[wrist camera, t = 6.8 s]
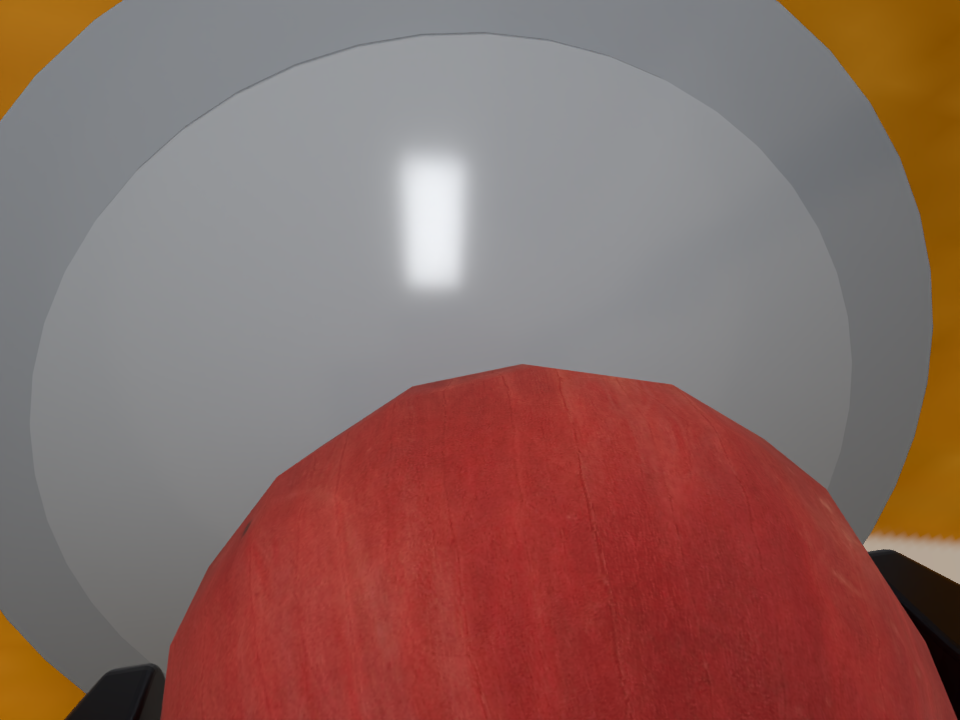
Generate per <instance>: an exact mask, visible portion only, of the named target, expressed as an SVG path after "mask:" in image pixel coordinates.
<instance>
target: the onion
mask: <svg viewBox="0 0 960 720" xmlns="http://www.w3.org/2000/svg"><path fill="white" fill-rule="evenodd" d="M160 720H957V717H956V715H955V712H954V710H953V707H952V705H951V702H950V700H949V698H948V695H947V693H946V690H945V688H944V685H943V683H942V681H941V678H940V676H939V673H938V671H937V668H936V666H935V664H934V661H933V659H932V656H931V654H930V651H929V649H928V646H927V644H926V642H925V640H924V639H923V637H922V636H921V634H920V633H919V631H918V630H917V628H916V627H915V625H914V623H913V622H912V620H911V619H910V617H909V616H908V614H907V613H906V611H905V610H904V608H903V606H902V605H901V603H900V602H899V600H898V599H897V597H896V596H895V594H894V593H893V591H892V590H891V588H890V586H889V585H888V583H887V582H886V580H885V579H884V577H883V576H882V574H881V573H880V571H879V569H878V568H877V566H876V565H875V563H874V562H873V560H872V559H871V557H870V556H869V554H868V553H867V551H866V549H865V548H864V546H863V545H862V543H861V542H860V540H859V539H858V537H857V536H856V534H855V532H854V531H853V529H852V528H851V526H850V525H849V523H848V522H847V520H846V519H845V517H844V515H843V514H842V512H841V511H840V509H839V508H838V506H837V505H836V503H835V502H834V500H833V499H832V497H831V495H830V494H829V492H828V491H827V489H826V488H825V487H823V486H822V485H821V484H820V483H818V482H817V481H816V480H815V479H813V478H812V477H811V476H810V475H808V474H807V473H806V472H805V471H803V470H802V469H801V468H800V467H798V466H797V465H796V464H795V463H793V462H792V461H791V460H790V459H788V458H787V457H786V456H785V455H783V454H782V453H781V452H780V451H778V450H777V449H776V448H775V447H774V446H772V445H771V444H770V443H769V442H767V441H766V440H765V439H763V438H762V437H760V436H758V435H757V434H755V433H753V432H751V431H750V430H748V429H746V428H745V427H743V426H741V425H740V424H738V423H736V422H735V421H733V420H731V419H730V418H728V417H726V416H725V415H723V414H721V413H719V412H718V411H716V410H714V409H713V408H711V407H709V406H708V405H706V404H704V403H703V402H701V401H699V400H698V399H696V398H694V397H693V396H691V395H689V394H688V393H686V392H684V391H682V390H681V389H679V388H677V387H676V386H674V385H672V384H665V383H658V382H651V381H643V380H636V379H629V378H621V377H614V376H607V375H600V374H592V373H585V372H578V371H571V370H563V369H556V368H549V367H541V366H534V365H527V364H519V365H515V366H510V367H505V368H500V369H495V370H490V371H485V372H480V373H475V374H470V375H466V376H461V377H456V378H451V379H446V380H441V381H436V382H431V383H426V384H421V385H417V386H412V387H411V388H409V389H407V390H406V391H404V392H403V393H401V394H400V395H398V396H397V397H395V398H394V399H392V400H391V401H389V402H388V403H386V404H385V405H383V406H382V407H380V408H379V409H377V410H376V411H374V412H372V413H371V414H369V415H368V416H366V417H365V418H363V419H362V420H360V421H359V422H357V423H356V424H354V425H353V426H351V427H350V428H348V429H347V430H345V431H344V432H342V433H340V434H339V435H337V436H336V437H334V438H333V439H331V440H330V441H328V442H327V443H325V444H324V445H322V446H321V447H319V448H318V449H316V450H315V451H314V452H312V453H311V454H309V455H308V456H306V457H305V458H303V459H302V460H301V461H299V462H298V463H296V464H295V465H293V466H292V467H290V468H289V469H288V470H286V471H285V472H283V473H282V474H280V475H279V476H277V477H276V479H275V480H274V481H273V483H272V484H271V485H270V487H269V488H268V489H267V491H266V492H265V493H264V495H263V496H262V497H261V499H260V500H259V501H258V503H257V504H256V505H255V506H254V508H253V509H252V510H251V512H250V513H249V514H248V516H247V517H246V518H245V520H244V521H243V522H242V524H241V525H240V526H239V528H238V529H237V530H236V532H235V533H234V534H233V536H232V537H231V538H230V539H229V541H228V542H227V543H226V545H225V546H224V547H223V549H222V550H221V551H220V553H219V554H218V555H217V557H216V558H215V559H214V561H213V562H212V563H211V565H210V566H209V567H208V569H207V571H206V573H205V575H204V577H203V579H202V581H201V583H200V585H199V587H198V589H197V592H196V594H195V596H194V598H193V600H192V602H191V604H190V606H189V608H188V610H187V612H186V614H185V616H184V618H183V620H182V622H181V624H180V626H179V628H178V630H177V632H176V634H175V636H174V638H173V641H172V643H171V645H170V648H169V656H168V664H167V671H166V679H165V687H164V694H163V702H162V710H161V717H160Z"/></svg>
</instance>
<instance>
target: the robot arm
mask: <svg viewBox="0 0 960 720" xmlns="http://www.w3.org/2000/svg"><path fill="white" fill-rule="evenodd" d="M867 553H868V554H869V556H870V557H871V559H872V560H873V562H874V563H875V565H876V566H877V568H878V569H879V571H880V573H881V574H882V576H883V577H884V579H885V580H886V582H887V583H888V585H889V586H890V588H891V590H892V591H893V593H894V594H895V596H896V597H897V599H898V600H899V602H900V603H901V605H902V606H903V608H904V610H905V611H906V613H907V614H908V616H909V617H910V619H911V620H912V622H913V623H914V625H915V627H916V628H917V630H918V631H919V633H920V634H921V636H922V637H923V639H924V640H925V642H926V644H927V646H928V649H929V651H930V654H931V656H932V659H933V661H934V664H935V666H936V668H937V671H938V673H939V676H940V678H941V681H942V683H943V685H944V688H945V690H946V693H947V695H948V698H949V700H950V702H951V705H952V707H953V710H954V712H955V715H956V717H957V720H960V584H958V583H956V582H954V581H952V580H950V579H948V578H946V577H944V576H942V575H941V574H939V573H937V572H935V571H933V570H931V569H929V568H927V567H925V566H923V565H921V564H920V563H917V562H916V561H914V560H912V559H910V558H908V557H906V556H904V555H902V554H900V553H898V552H896V551H893V550H884V549H883V550H877V551H870V552H867ZM164 687H165V676H164V674H163V672H162V670H161V669H160V667H159V666H158V665H156V664H153V663H147V664H140V665H134V666H127V667H121V668H115V669H112V670H110V671H108V672H107V673H105V674H104V675H103V676H102V677H101V678H100V679H99V680H98V681H97V682H96V684H95V685H94V686H93V687H92V688H91V689H90V691H89V692H88V693H87V694H86V695H85V696H84V697H83V699H82V700H81V701H80V702H79V703H78V704H77V706H76V707H75V708H74V709H73V710H72V711H71V712H70V714H69V715H68V716H67V717H66V718H65V719H64V720H160V717H161V710H162V702H163V694H164Z"/></svg>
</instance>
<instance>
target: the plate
mask: <svg viewBox="0 0 960 720" xmlns="http://www.w3.org/2000/svg"><path fill="white" fill-rule="evenodd" d="M932 332H933V320H932V293H931V271H930V266H929V260H928V255H927V250H926V244H925V239H924V234H923V228H922V223H921V218H920V214H919V211H918V208H917V205H916V202H915V199H914V197H913V194H912V191H911V188H910V185H909V182H908V179H907V177H906V174H905V171H904V168H903V165H902V162H901V160H900V157H899V155H898V153H897V152H896V150H895V148H894V146H893V144H892V142H891V141H890V139H889V137H888V135H887V133H886V131H885V129H884V128H883V126H882V124H881V122H880V120H879V118H878V116H877V115H876V113H875V111H874V109H873V107H872V105H871V104H870V102H869V101H868V99H867V98H866V97H865V95H864V94H863V93H862V92H861V90H860V89H859V88H858V86H857V85H856V84H855V82H854V81H853V80H852V79H851V77H850V76H849V75H848V73H847V72H846V71H845V69H844V68H843V67H842V66H841V64H840V63H839V62H838V60H837V59H836V58H835V56H834V55H833V54H832V52H831V51H830V50H829V49H828V48H827V47H826V46H825V45H824V44H823V43H821V42H820V41H819V40H818V39H817V38H816V37H815V36H814V35H813V34H812V33H811V32H810V31H809V30H808V29H807V28H806V27H805V26H803V25H802V24H801V23H800V22H799V21H798V20H797V19H796V18H795V17H794V16H793V15H792V14H791V13H790V12H789V11H788V10H787V9H785V8H784V7H783V6H782V5H781V4H780V3H779V2H777V1H776V0H123V1H122V2H120V3H119V4H117V5H116V6H114V7H113V8H111V9H110V10H108V11H107V12H106V13H104V14H103V15H101V16H100V17H98V18H97V19H95V20H94V21H93V22H92V23H91V24H90V25H89V26H88V27H87V28H86V29H84V30H83V31H82V32H81V33H80V34H79V35H78V36H77V37H76V38H75V39H74V40H73V41H72V42H71V43H70V44H69V45H68V46H66V47H65V48H64V49H63V50H62V51H61V52H60V53H59V54H58V55H57V56H56V57H55V58H54V59H53V60H52V61H51V62H49V63H48V64H47V65H46V66H45V67H44V68H43V69H42V70H41V71H40V72H39V73H38V74H37V75H36V76H35V77H34V78H33V80H32V81H31V82H30V83H29V85H28V86H27V87H26V89H25V90H24V91H23V92H22V94H21V95H20V96H19V98H18V99H17V100H16V102H15V103H14V104H13V105H12V107H11V108H10V109H9V111H8V112H7V113H6V115H5V116H4V117H3V118H2V120H1V121H0V610H1V611H2V613H3V614H4V615H5V617H6V618H7V620H8V621H9V622H10V623H11V624H12V625H13V626H14V627H15V628H16V629H17V630H18V631H19V632H20V633H21V634H22V636H23V637H24V638H25V639H26V640H27V641H28V642H29V643H30V644H31V645H32V646H33V647H34V648H35V649H36V650H37V652H38V653H39V654H40V655H41V656H42V657H43V658H44V659H45V660H46V661H47V662H48V663H50V664H51V665H52V666H53V667H55V668H56V669H57V670H58V671H59V672H61V673H62V674H63V675H64V676H65V677H67V678H68V679H69V680H70V681H72V682H73V683H74V684H75V685H76V686H78V687H79V688H80V689H81V690H83V691H84V692H85V693H86V694H87V693H88V692H89V691H90V689H91V688H92V687H93V686H94V685H95V684H96V682H97V681H98V680H99V679H100V678H101V677H102V676H103V675H104V674H105V673H107V672H108V671H110V670H112V669H115V668H121V667H127V666H134V665H140V664H147V663H153V664H156V665H158V666H159V667H160V669H161V670H162V672H163V674H164V676H165V679H166V671H167V664H168V656H169V648H170V645H171V643H172V641H173V638H174V636H175V634H176V632H177V630H178V628H179V626H180V624H181V622H182V620H183V618H184V616H185V614H186V612H187V610H188V608H189V606H190V604H191V602H192V600H193V598H194V596H195V594H196V592H197V589H198V587H199V585H200V583H201V581H202V579H203V577H204V575H205V573H206V571H207V569H208V567H209V566H210V565H211V563H212V562H213V561H214V559H215V558H216V557H217V555H218V554H219V553H220V551H221V550H222V549H223V547H224V546H225V545H226V543H227V542H228V541H229V539H230V538H231V537H232V536H233V534H234V533H235V532H236V530H237V529H238V528H239V526H240V525H241V524H242V522H243V521H244V520H245V518H246V517H247V516H248V514H249V513H250V512H251V510H252V509H253V508H254V506H255V505H256V504H257V503H258V501H259V500H260V499H261V497H262V496H263V495H264V493H265V492H266V491H267V489H268V488H269V487H270V485H271V484H272V483H273V481H274V480H275V479H276V477H277V476H279V475H280V474H282V473H283V472H285V471H286V470H288V469H289V468H290V467H292V466H293V465H295V464H296V463H298V462H299V461H301V460H302V459H303V458H305V457H306V456H308V455H309V454H311V453H312V452H314V451H315V450H316V449H318V448H319V447H321V446H322V445H324V444H325V443H327V442H328V441H330V440H331V439H333V438H334V437H336V436H337V435H339V434H340V433H342V432H344V431H345V430H347V429H348V428H350V427H351V426H353V425H354V424H356V423H357V422H359V421H360V420H362V419H363V418H365V417H366V416H368V415H369V414H371V413H372V412H374V411H376V410H377V409H379V408H380V407H382V406H383V405H385V404H386V403H388V402H389V401H391V400H392V399H394V398H395V397H397V396H398V395H400V394H401V393H403V392H404V391H406V390H407V389H409V388H411V387H412V386H417V385H421V384H426V383H431V382H436V381H441V380H446V379H451V378H456V377H461V376H466V375H470V374H475V373H480V372H485V371H490V370H495V369H500V368H505V367H510V366H515V365H519V364H527V365H534V366H541V367H549V368H556V369H563V370H571V371H578V372H585V373H592V374H600V375H607V376H614V377H621V378H629V379H636V380H643V381H651V382H658V383H665V384H672V385H674V386H676V387H677V388H679V389H681V390H682V391H684V392H686V393H688V394H689V395H691V396H693V397H694V398H696V399H698V400H699V401H701V402H703V403H704V404H706V405H708V406H709V407H711V408H713V409H714V410H716V411H718V412H719V413H721V414H723V415H725V416H726V417H728V418H730V419H731V420H733V421H735V422H736V423H738V424H740V425H741V426H743V427H745V428H746V429H748V430H750V431H751V432H753V433H755V434H757V435H758V436H760V437H762V438H763V439H765V440H766V441H767V442H769V443H770V444H771V445H772V446H774V447H775V448H776V449H777V450H778V451H780V452H781V453H782V454H783V455H785V456H786V457H787V458H788V459H790V460H791V461H792V462H793V463H795V464H796V465H797V466H798V467H800V468H801V469H802V470H803V471H805V472H806V473H807V474H808V475H810V476H811V477H812V478H813V479H815V480H816V481H817V482H818V483H820V484H821V485H822V486H823V487H825V488H826V489H827V491H828V492H829V494H830V495H831V497H832V499H833V500H834V502H835V503H836V505H837V506H838V508H839V509H840V511H841V512H842V514H843V515H844V517H845V519H846V520H847V522H848V523H849V525H850V526H851V528H852V529H853V531H854V532H855V534H856V536H857V537H858V539H859V540H860V542H861V543H862V545H863V544H864V542H865V541H866V539H867V538H868V536H869V535H870V533H871V532H872V530H873V528H874V526H875V524H876V522H877V520H878V518H879V516H880V514H881V513H882V511H883V509H884V507H885V505H886V503H887V501H888V499H889V497H890V495H891V493H892V492H893V490H894V488H895V486H896V483H897V481H898V478H899V475H900V473H901V470H902V467H903V465H904V462H905V460H906V457H907V454H908V452H909V449H910V446H911V444H912V441H913V438H914V436H915V432H916V428H917V423H918V419H919V415H920V411H921V407H922V403H923V399H924V394H925V390H926V386H927V380H928V370H929V361H930V351H931V341H932Z"/></svg>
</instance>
